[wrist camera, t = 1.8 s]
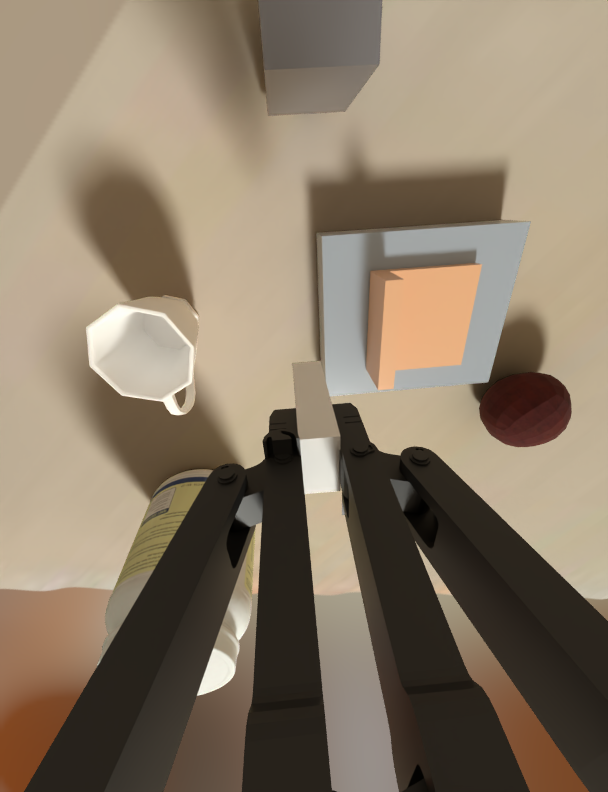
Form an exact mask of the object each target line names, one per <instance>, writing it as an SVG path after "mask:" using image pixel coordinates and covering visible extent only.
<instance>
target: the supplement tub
mask: <svg viewBox="0 0 608 792" xmlns="http://www.w3.org/2000/svg"><path fill="white" fill-rule="evenodd" d="M212 471H213V470H208V469H196V470H189V471H185V472H181V473H179V474H176V475H174V476H172V477H170V478H169V479H167V480H166V481H165V482H163V483H162V484H161V485H160V486H159V487H158V489H157V490H156V491H155V493H154V494H153V496H152V498H151V501H150V504H149V506H148V509H147V511H146V513H145V516H144V518H143V521H142V523H141V525H140V528H139V530H138V533H137V535H136V537H135V540H134V542H133V545H132V547H131V549H130V552H129V554H128V557H127V559H126V561H125V564H124V566H123V569H122V571H121V573H120V576H119V578H118V581H117V583H116V586H115V588H114V590H113V593H112V595H111V597H110V599H109V601H108V605H107V609H106V615H105V623H106V629H107V632H108V635H107V637H106V638H105V641H104V643H103V646H102V653H101V656H100V659H99V662H98V664H99V663H100V661H101V659H102V658H103V656H104V654H105V652H106V651H107V649H108V647H109V646H110V644H111V642H112V640H113V639H114V637H115V635H116V634H117V632H118V630H119V629H120V627H121V625H122V623H123V622H124V620H125V618H126V617H127V615H128V613H129V611H130V610H131V608H132V606H133V605H134V603H135V601H136V599H137V598H138V596H139V594H140V593H141V591H142V589H143V588H144V586H145V584H146V582H147V581H148V579H149V577H150V576H151V574H152V572H153V570H154V569H155V567H156V565H157V564H158V562H159V560H160V558H161V557H162V555H163V553H164V552H165V550H166V548H167V546H168V545H169V543H170V541H171V540H172V538H173V536H174V535H175V533H176V531H177V529H178V528H179V526H180V524H181V523H182V521H183V519H184V517H185V516H186V514H187V512H188V511H189V509H190V507H191V505H192V504H193V502H194V500H195V499H196V497H197V495H198V494H199V492H200V490H201V488H202V487H203V485H204V483H205V482H206V480H207V478H208V476H209V475H210V474H211V473H212ZM254 546H255V530H254V533H253V536H252V539H251V542H250V545H249V548H248V551H247V553H246V556H245V559H244V562H243V565H242V568H241V571H240V573H239V576H238V579H237V582H236V585H235V588H234V591H233V594H232V596H231V599H230V602H229V605H228V608H227V611H226V614H225V616H224V619H223V622H222V625H221V628H220V631H219V634H218V636H217V639H216V642H215V645H214V648H213V651H212V654H211V657H210V659H209V662H208V665H207V668H206V671H205V674H204V677H203V679H202V682H201V685H200V688H199V691H198V694H197V695H202V694H205V693H208V692H211V691H214V690H216V689H218V688H220V687H222V686H223V685H225V684H226V683H227V682H229V681H230V680H231V679H232V677H233V675H234V673H235V669H236V660H237V656H238V653H239V641H238V640H239V639H240V638H241V637H242V635H243V634H244V632H245V631H246V628H247V626H248V624H249V620H250V614H251V600H252V583H253V564H254ZM97 666H98V665H97Z"/></svg>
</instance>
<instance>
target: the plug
mask: <svg viewBox="0 0 608 792" xmlns="http://www.w3.org/2000/svg"><path fill="white" fill-rule="evenodd" d="M258 8H259V19H260V31H261V42H262V53H263V65H264V76H265V88H266V99H267V111H268V116H273V115H291V114H309V113H327V112H345V111H346V109H347V108H348V107H349V105H350V104H351V103H352V101H353V100H354V98H355V97H356V96H357V94H358V93H359V92H360V90H361V89H362V87H363V86H364V85H365V83H366V82H367V81H368V79H369V78H370V77H371V75H372V74H373V72H374V71H375V70H376V68H377V67H378V66H379V62H380V40H381V17H382V0H258Z"/></svg>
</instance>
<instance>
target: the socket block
mask: <svg viewBox="0 0 608 792" xmlns="http://www.w3.org/2000/svg"><path fill="white" fill-rule="evenodd" d="M530 223H531V222H530V221H511V220H493V221H479V222H464V223H450V224H436V225H421V226H407V227H393V228H378V229H364V230H350V231H335V232H321V233H316V238H317V267H318V297H319V327H320V356H321V365H322V369H323V372H324V376H325V380H326V384H327V388H328V391H329V395H330V396H340V395H351V394H362V393H373V392H384V391H396V390H407V389H418V388H429V387H440V386H451V385H463V384H474V383H485V382H488V381H489V378H490V374H491V370H492V366H493V363H494V359H495V355H496V351H497V347H498V344H499V340H500V336H501V332H502V328H503V325H504V321H505V317H506V313H507V310H508V306H509V302H510V298H511V294H512V291H513V287H514V283H515V279H516V276H517V272H518V268H519V264H520V260H521V257H522V253H523V249H524V245H525V242H526V238H527V234H528V230H529V226H530ZM467 263H479V264H482V268H481V272H480V277H479V282H478V287H477V291H476V296H475V301H474V306H473V311H472V315H471V320H470V325H469V330H468V334H467V339H466V344H465V349H464V353H463V358H462V363H461V365H453V366H442V367H430V368H419V369H407V370H396V371H395V380H394V389H387V390H378V389H377V388H376V386H375V384H374V382H373V380H372V379H371V377H370V375H369V373H368V372H367V370H366V356H367V333H368V311H369V289H370V271H373V270H387V269H400V268H414V267H427V266H440V265H454V264H467Z"/></svg>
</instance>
